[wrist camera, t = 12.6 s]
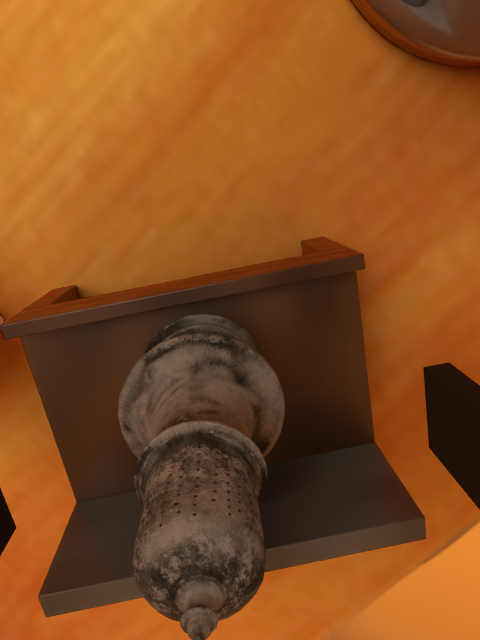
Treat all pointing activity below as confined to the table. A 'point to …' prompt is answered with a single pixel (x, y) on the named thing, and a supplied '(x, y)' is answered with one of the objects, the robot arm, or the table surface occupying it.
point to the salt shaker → (200, 467)
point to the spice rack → (282, 461)
